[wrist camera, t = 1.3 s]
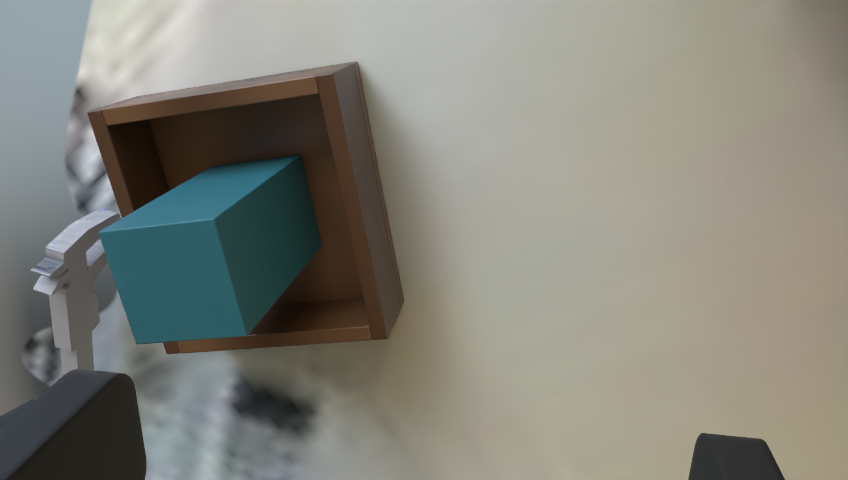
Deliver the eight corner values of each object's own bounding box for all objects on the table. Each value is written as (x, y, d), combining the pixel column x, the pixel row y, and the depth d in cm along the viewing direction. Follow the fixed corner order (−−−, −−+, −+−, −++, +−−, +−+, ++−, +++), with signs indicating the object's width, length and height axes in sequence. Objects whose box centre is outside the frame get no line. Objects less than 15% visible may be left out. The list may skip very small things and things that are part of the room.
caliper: (106, 203, 39) (29, 243, 33) (124, 209, 39) (50, 250, 33) (84, 476, 47) (19, 547, 41) (99, 481, 47) (35, 553, 41)
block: (301, 153, 35) (213, 218, 26) (322, 245, 37) (247, 336, 27) (212, 165, 36) (96, 232, 27) (236, 254, 38) (136, 344, 28)
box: (357, 60, 34) (332, 72, 30) (404, 301, 38) (387, 339, 34) (136, 96, 36) (86, 111, 32) (203, 317, 40) (166, 355, 36)
